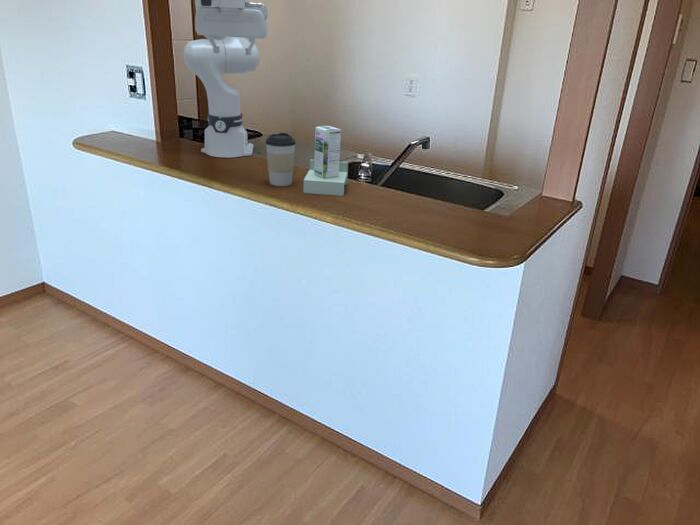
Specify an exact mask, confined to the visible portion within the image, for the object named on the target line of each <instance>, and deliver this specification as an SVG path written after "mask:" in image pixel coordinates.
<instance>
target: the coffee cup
mask: <svg viewBox="0 0 700 525" xmlns="http://www.w3.org/2000/svg"><path fill="white" fill-rule="evenodd" d="M265 144H266V160H267V170H268V176H269V178H268V179H269V184H270V185H272V186H277V187H287V186H291V185H292V184H293V173H294V172H293V171H294V165H295V157H296V155H295V153H296V152H295V149H296V148H295V146H296V139H294V138H293V137H292V135H290V134H289V133H287V132H279V133H274V134H270V135H269V136H268V137H267V138H266V139H265Z"/></svg>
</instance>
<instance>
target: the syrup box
mask: <svg viewBox="0 0 700 525" xmlns="http://www.w3.org/2000/svg"><path fill="white" fill-rule="evenodd" d="M314 132H315V133H314V134H315V135H314V159H313V160H314V175H318V176H320V177H322V178H331V177H336V176H339V161H340V156H341V135H342V129H341V128H337V127H335V126H331V125H320V126H316V127H315V131H314Z"/></svg>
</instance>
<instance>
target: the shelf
mask: <svg viewBox="0 0 700 525" xmlns="http://www.w3.org/2000/svg"><path fill="white" fill-rule="evenodd" d="M348 172H349V161H340V160H339V176H336V177H331V178H322V177H320V176H318V175H314V159H309V170H308V171H307V173H306V175H305V176H304V177H303V178H304V179H303V188H302V189H303V190H302V191H303V194H310V195H311V194H312V195H314V194H315V195H324V196H325V195H327V196H339V197H344V194H345V186H347V185H348Z"/></svg>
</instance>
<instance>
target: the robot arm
mask: <svg viewBox="0 0 700 525" xmlns="http://www.w3.org/2000/svg"><path fill="white" fill-rule="evenodd" d="M194 5H195V17H194V29H195V32H196V34H197V35H198V36H204V37H205V38H201V39H195V40H189V41H188V42H187V43H186V45H185V46H184V47H183V48H184V49H183V51H182V52H183V54H182V55H183V56H182V57H183V61H184V64H185V65H186V67H187V69H189V70H190V71H191V72H192V73H193V74H195V75H196V76H197V77H198V78H199V80H201V82H202V84H203V86H204V88H205V92H206V97H207V104H208V105H207V106H208V113H207V124H208V126H207V127H206V128H205V129H204V147H202V148H201V149H200V152H201V153H204V154H206V155H208V156H210V157H214V158H215V157H216V158H226V159H227V158H238V157H244V156H245V157H246V156H252V155H253V151H254V144H253V143H250V142H249V141H248V132H247V129H246V128H245V127H244V125H243V123H244V122H243V116H244V115H243V112H241V94H240V92H239V90H238V89H237V88H236V87H235V86H233V85H231V84H230V83H227V82H225V81H224V80H223V75H224V74H226V75H227V74H233V75H234V74H237V75H238V74H239V75H241V74H247V73H251V72H255V71H256V70H257V69H258V67H259V65H260V60H261V56H260V52H259V51H260V50H259V49H258V47H257V46H256V39H257V40H258V39H261V40H263V39H266V38H267V36H268V25H267V19H268V8H267V6H266V5H264V4H263V3H262V2H250V1H249V2H248V1H247V0H194Z"/></svg>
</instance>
